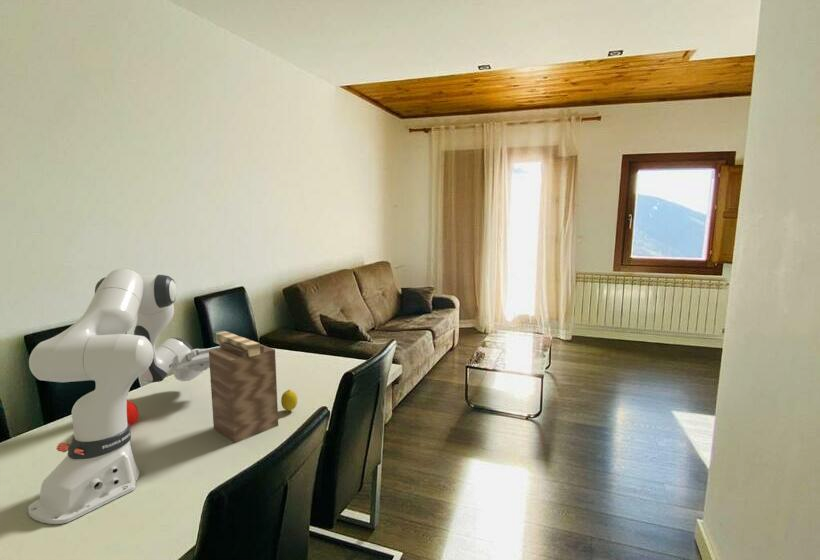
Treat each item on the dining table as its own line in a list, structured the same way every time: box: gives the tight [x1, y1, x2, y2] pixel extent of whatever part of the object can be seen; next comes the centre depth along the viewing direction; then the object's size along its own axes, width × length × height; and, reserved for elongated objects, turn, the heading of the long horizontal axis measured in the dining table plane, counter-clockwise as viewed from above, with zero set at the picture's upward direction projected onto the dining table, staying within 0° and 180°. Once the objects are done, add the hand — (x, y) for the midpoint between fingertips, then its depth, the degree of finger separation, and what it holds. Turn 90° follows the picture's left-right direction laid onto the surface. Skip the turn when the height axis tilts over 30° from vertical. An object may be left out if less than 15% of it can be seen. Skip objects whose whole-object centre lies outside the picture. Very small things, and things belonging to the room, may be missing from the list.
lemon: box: [280, 389, 298, 412], centre depth 151 cm, size 6×6×8 cm
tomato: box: [127, 399, 140, 427], centre depth 137 cm, size 14×13×9 cm
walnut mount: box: [209, 342, 279, 444], centre depth 138 cm, size 15×14×28 cm
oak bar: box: [212, 330, 260, 357], centre depth 139 cm, size 24×4×4 cm, turn 49°
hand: (210, 349), depth 152 cm, fingers open, 8 cm apart
